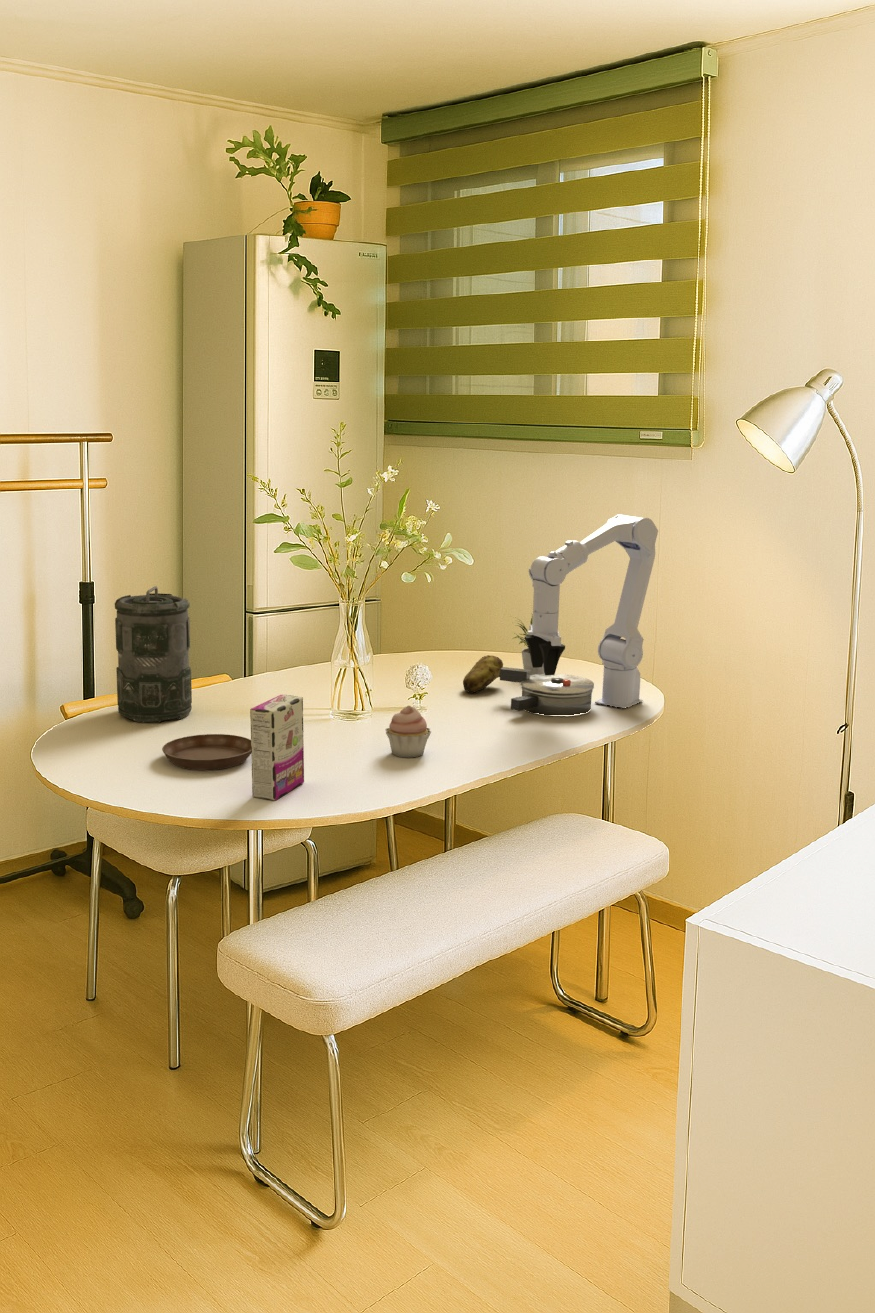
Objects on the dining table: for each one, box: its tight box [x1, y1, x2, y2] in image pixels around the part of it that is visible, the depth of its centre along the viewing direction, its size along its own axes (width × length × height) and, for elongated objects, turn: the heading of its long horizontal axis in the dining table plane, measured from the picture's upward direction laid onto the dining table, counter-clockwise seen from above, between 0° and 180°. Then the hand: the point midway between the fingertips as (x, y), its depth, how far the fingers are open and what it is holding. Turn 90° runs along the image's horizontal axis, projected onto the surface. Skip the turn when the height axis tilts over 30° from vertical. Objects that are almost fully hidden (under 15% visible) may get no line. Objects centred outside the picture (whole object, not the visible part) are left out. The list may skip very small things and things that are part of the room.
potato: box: [462, 654, 504, 693], centre depth 291 cm, size 8×13×8 cm, turn 126°
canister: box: [114, 585, 193, 724], centre depth 259 cm, size 16×16×28 cm
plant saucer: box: [161, 733, 252, 771], centre depth 231 cm, size 18×18×3 cm
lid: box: [499, 666, 595, 694], centre depth 276 cm, size 22×17×3 cm
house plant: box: [510, 612, 544, 675], centre depth 308 cm, size 14×14×16 cm
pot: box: [510, 686, 594, 715], centre depth 274 cm, size 22×16×5 cm
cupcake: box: [385, 705, 432, 759], centre depth 237 cm, size 9×9×10 cm
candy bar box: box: [249, 694, 305, 801], centre depth 213 cm, size 11×5×16 cm, turn 158°
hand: (543, 671), depth 268 cm, fingers open, 7 cm apart
